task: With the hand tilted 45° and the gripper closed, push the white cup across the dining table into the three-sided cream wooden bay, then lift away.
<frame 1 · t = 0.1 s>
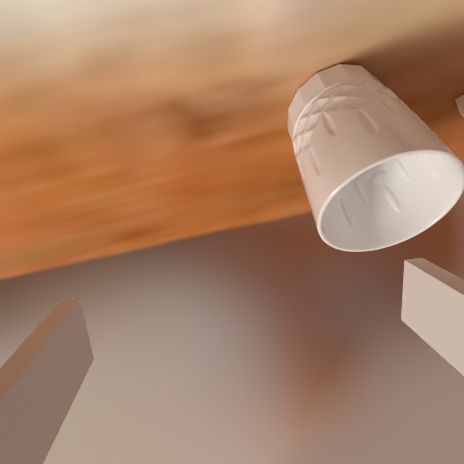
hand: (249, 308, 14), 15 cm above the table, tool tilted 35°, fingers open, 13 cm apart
white cup: (330, 108, 25), on the table
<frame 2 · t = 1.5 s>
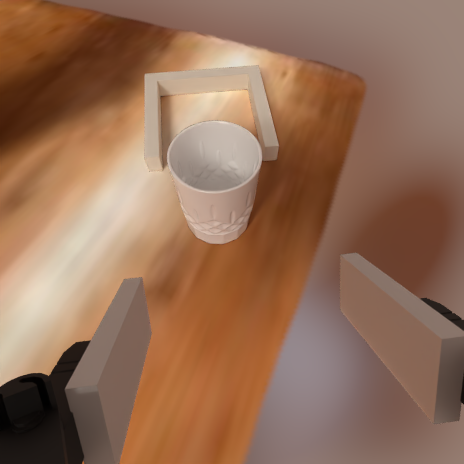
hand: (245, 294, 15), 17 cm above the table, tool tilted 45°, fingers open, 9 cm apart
bay: (208, 123, 43), on the table
white cup: (218, 218, 37), on the table
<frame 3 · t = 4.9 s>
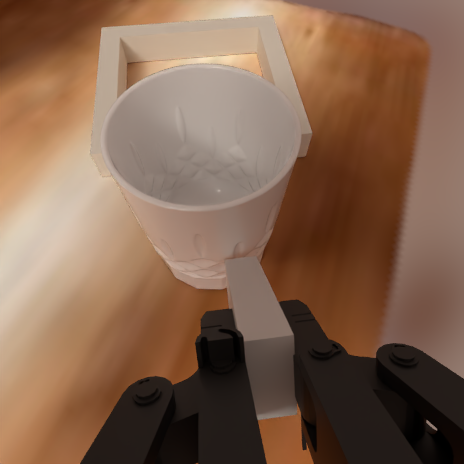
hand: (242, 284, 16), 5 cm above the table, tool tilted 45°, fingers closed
bay: (198, 102, 28), on the table
white cup: (213, 243, 22), on the table, touching gripper
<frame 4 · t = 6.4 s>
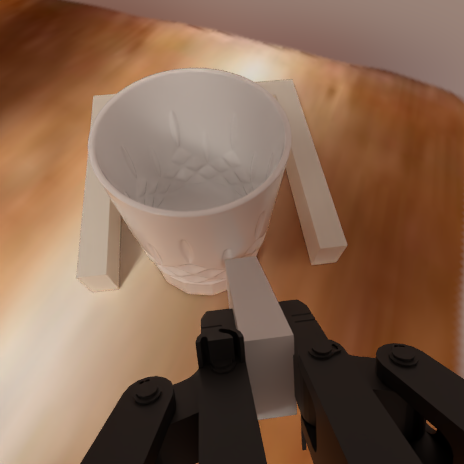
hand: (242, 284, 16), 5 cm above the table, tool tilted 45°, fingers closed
bay: (206, 186, 24), on the table
white cup: (206, 248, 22), on the table, touching gripper
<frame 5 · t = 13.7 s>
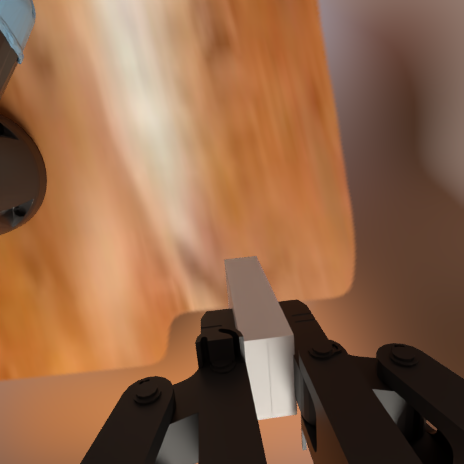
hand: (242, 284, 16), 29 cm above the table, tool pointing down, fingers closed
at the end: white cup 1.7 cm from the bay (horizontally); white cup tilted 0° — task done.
